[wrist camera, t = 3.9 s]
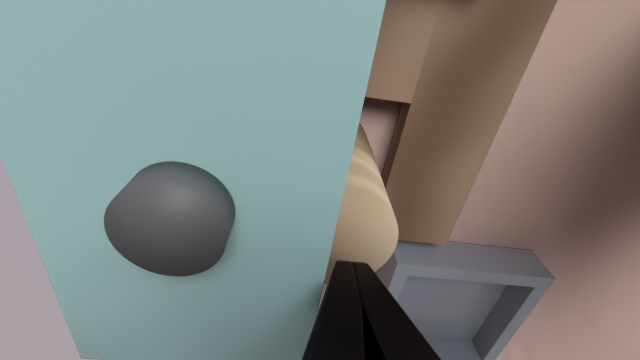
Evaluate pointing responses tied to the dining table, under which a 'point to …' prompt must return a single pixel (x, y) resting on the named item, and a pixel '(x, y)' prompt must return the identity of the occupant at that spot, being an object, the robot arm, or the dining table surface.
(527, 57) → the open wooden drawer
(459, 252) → the slate tray
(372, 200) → the maple peg
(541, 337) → the dining table surface
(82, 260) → the teal lid
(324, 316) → the robot arm
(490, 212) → the dining table surface
